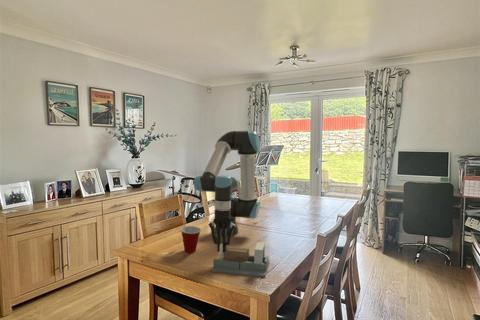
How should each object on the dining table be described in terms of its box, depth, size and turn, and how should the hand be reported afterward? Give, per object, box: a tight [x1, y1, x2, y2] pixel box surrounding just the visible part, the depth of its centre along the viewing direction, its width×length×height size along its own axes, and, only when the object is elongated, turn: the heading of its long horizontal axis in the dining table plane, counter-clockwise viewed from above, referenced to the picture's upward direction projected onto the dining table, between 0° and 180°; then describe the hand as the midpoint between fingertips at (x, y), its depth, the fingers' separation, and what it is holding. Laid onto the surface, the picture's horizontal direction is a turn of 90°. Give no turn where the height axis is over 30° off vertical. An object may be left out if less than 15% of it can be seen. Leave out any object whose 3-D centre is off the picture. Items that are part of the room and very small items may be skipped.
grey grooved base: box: [211, 242, 270, 278], centre depth 134 cm, size 16×24×11 cm, turn 78°
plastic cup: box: [180, 225, 202, 254], centre depth 152 cm, size 11×11×12 cm
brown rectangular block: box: [225, 245, 250, 262], centre depth 134 cm, size 5×10×7 cm, turn 77°
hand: (221, 258), depth 136 cm, fingers closed
